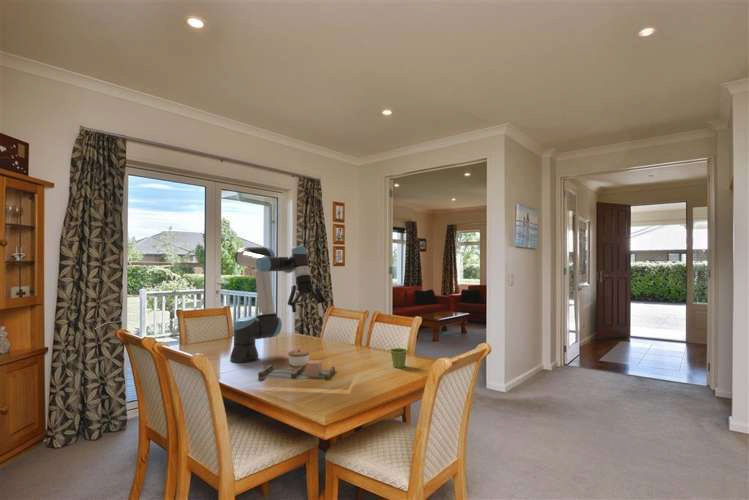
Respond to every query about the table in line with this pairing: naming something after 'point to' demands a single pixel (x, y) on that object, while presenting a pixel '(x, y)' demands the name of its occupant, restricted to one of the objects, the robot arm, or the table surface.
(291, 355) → the lidded jar
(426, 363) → the table surface
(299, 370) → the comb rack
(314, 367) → the terracotta block
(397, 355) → the plant pot
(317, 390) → the table surface
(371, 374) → the table surface
